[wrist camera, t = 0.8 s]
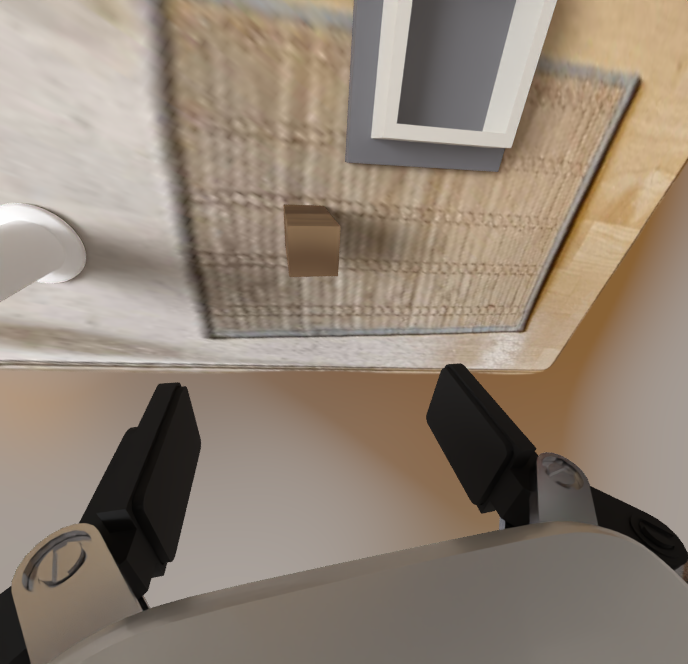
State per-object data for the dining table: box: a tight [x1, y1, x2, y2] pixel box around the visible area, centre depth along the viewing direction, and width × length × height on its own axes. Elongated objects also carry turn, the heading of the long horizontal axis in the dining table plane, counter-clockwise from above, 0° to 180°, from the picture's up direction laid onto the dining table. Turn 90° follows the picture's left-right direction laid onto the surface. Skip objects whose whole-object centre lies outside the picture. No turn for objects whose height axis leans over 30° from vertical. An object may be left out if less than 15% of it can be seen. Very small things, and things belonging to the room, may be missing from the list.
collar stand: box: [345, 0, 557, 172], centre depth 23 cm, size 16×16×5 cm
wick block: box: [284, 205, 340, 277], centre depth 27 cm, size 4×4×9 cm
